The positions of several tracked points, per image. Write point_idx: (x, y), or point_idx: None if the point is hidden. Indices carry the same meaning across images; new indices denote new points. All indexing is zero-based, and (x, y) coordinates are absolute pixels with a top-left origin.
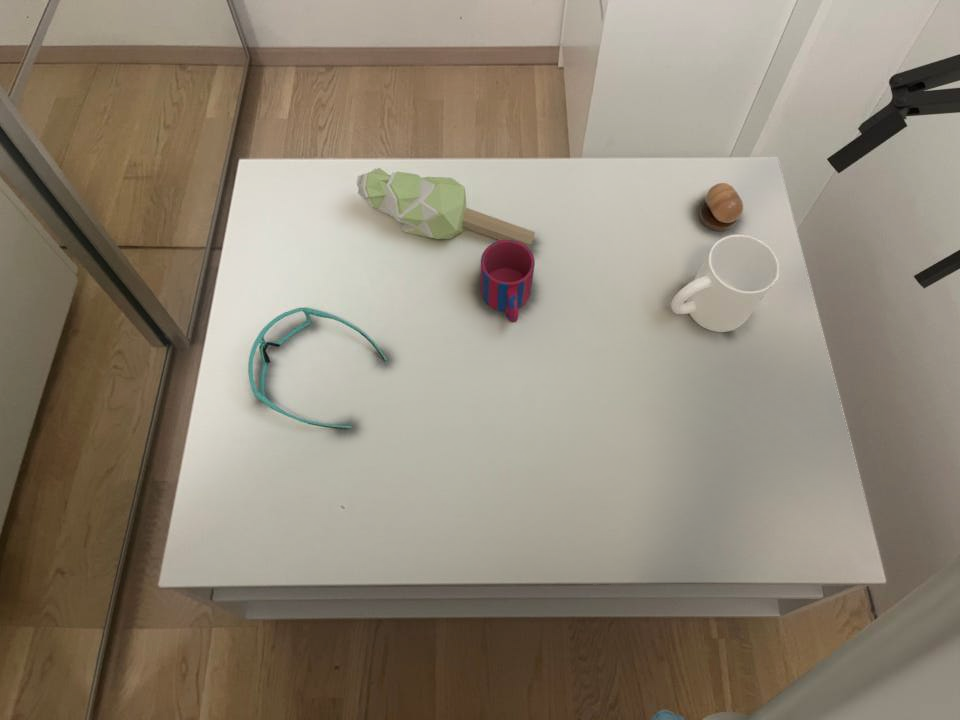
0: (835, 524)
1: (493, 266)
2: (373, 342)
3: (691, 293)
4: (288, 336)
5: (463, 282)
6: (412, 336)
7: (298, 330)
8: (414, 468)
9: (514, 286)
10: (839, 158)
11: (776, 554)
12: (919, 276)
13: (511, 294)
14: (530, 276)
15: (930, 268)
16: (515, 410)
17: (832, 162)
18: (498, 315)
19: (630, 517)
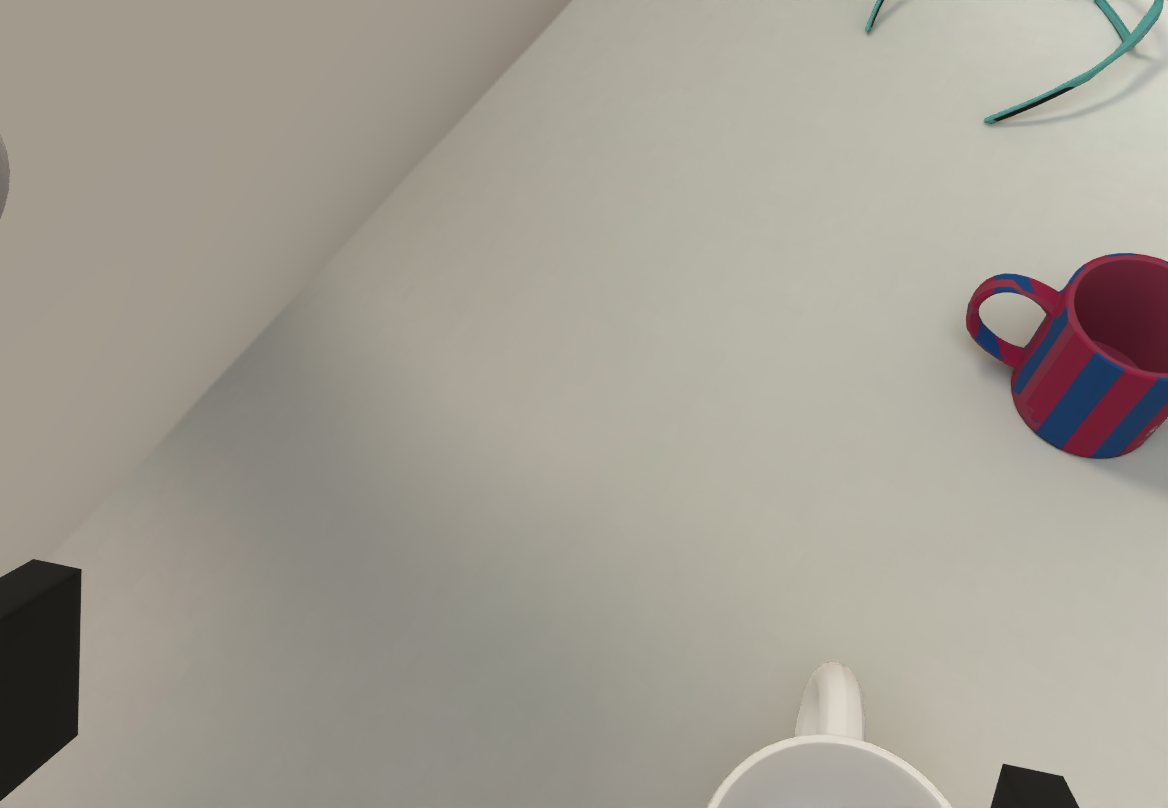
0: None
1: (1162, 372)
2: (1034, 99)
3: (822, 683)
4: (1110, 14)
5: None
6: (1025, 183)
7: (1118, 30)
8: (734, 81)
9: (1060, 303)
10: (1022, 802)
11: (117, 544)
12: (47, 575)
13: (1038, 286)
14: (1078, 348)
15: (6, 603)
16: (753, 267)
17: (1016, 775)
18: None
19: (405, 333)
